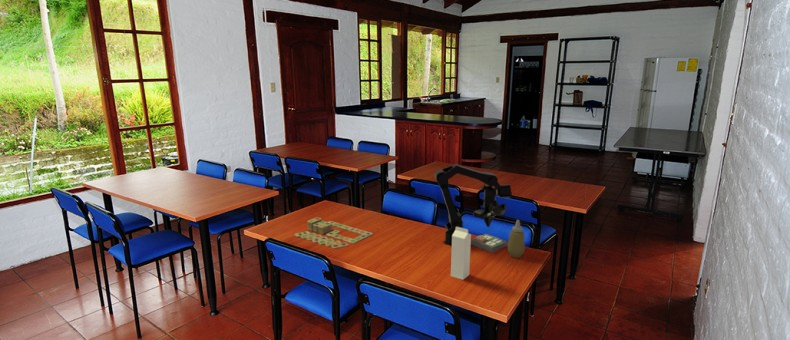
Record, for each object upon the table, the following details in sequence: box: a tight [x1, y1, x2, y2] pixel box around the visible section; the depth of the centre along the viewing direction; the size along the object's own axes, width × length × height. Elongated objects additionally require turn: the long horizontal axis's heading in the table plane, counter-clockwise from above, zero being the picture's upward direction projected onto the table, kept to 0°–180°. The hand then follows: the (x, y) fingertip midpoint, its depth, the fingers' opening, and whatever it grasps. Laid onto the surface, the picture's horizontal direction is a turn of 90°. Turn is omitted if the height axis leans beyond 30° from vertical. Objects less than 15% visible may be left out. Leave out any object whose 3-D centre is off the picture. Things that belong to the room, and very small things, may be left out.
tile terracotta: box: [474, 235, 487, 243], centre depth 215 cm, size 4×4×2 cm
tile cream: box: [485, 241, 496, 246], centre depth 211 cm, size 4×4×2 cm
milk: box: [450, 227, 472, 281], centre depth 181 cm, size 6×6×22 cm
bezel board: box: [471, 233, 508, 254], centre depth 215 cm, size 12×13×3 cm
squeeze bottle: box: [506, 219, 526, 259], centre depth 202 cm, size 8×8×18 cm
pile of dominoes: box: [294, 217, 374, 250], centre depth 228 cm, size 35×27×6 cm
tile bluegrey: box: [492, 239, 503, 244], centre depth 215 cm, size 4×4×2 cm
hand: (488, 226), depth 217 cm, fingers closed
